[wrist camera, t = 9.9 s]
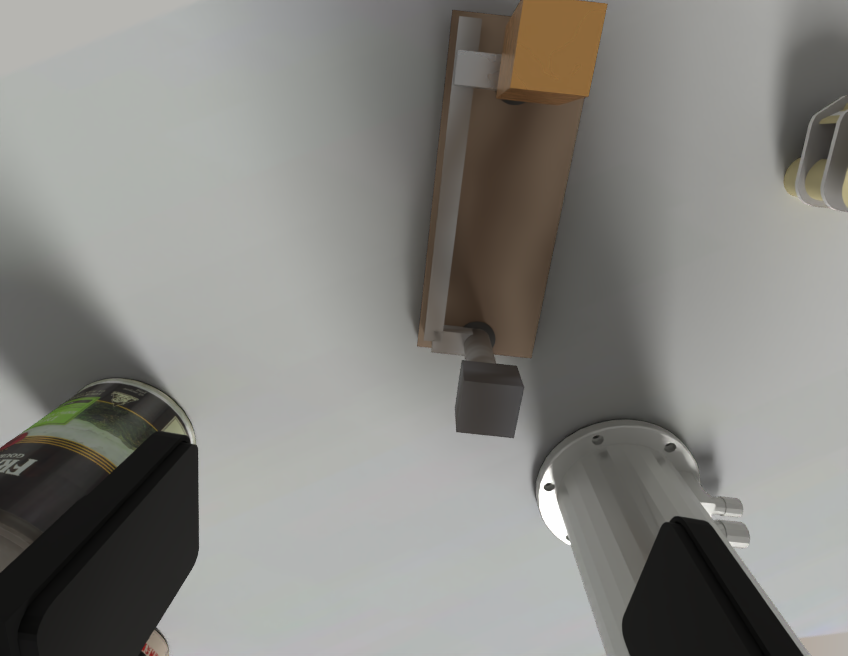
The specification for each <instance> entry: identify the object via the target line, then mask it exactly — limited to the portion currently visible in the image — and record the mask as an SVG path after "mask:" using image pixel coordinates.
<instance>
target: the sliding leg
mask: <svg viewBox="0 0 848 656" xmlns="http://www.w3.org/2000/svg"><path fill="white" fill-rule="evenodd" d="M606 9H607V4H605V3H596V2H588V1H579V0H521V1H520V3H519V4H518V6H517V8H516V9H515V11H514V13H513V15H512V16H511V18H510V20H509V22H508V23H507V25H506V29H505V37H504V44H503V51H502V54H493V53H484V52H475V51H466V50H458V52H457V61H456V70H455V79H454V86H459V87H468V88H477V89H486V90H495V91H497V93H496V99H503V100H512V101H521V102H530V103H539V104H549V105H562V104H565V103H568V102H572V101H575V100H578V99H582V98H585V97H588V96H589V92H590V87H591V82H592V77H593V72H594V67H595V62H596V58H597V53H598V48H599V43H600V38H601V33H602V28H603V24H604V19H605V14H606Z"/></svg>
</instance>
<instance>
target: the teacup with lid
mask: <svg viewBox="0 0 848 656" xmlns="http://www.w3.org/2000/svg"><path fill="white" fill-rule="evenodd" d="M138 656H169V650H168V646H167V644H166V642H165V640H164V639H163V638H162V636H161V635H160V634H159V633H158V632H157V631H156V630H154V631H153V633H152V634H151V636H150V637H149V639H148V641H147V642H146V644H145V646H144V647H143V649H142V650H141V652H140V654H139V655H138Z"/></svg>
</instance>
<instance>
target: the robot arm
mask: <svg viewBox="0 0 848 656" xmlns="http://www.w3.org/2000/svg"><path fill="white" fill-rule="evenodd" d="M536 499H537V504H538V507H539V511H540V514H541V517H542V519H543V520H544V522H545V524H546V525H547V527H548V528H549V529H550V530H551V531H552V532H553V534H554V535H555V536H556V537H558V538H559V539H561V540H562V541H563V542H565V543H567V544H569V545H571V548H572V551H573V554H574V557H575V560H576V563H577V566H578V569H579V572H580V575H581V578H582V582H583V585H584V588H585V591H586V594H587V597H588V600H589V603H590V606H591V609H592V612H593V615H594V619H595V622H596V625H597V628H598V631H599V634H600V637H601V640H602V643H603V646H604V649H605V652H606V655H607V656H811V654H810V653H809V652H808V651H807V649H806V648H805V647H804V645H803V644H802V643H801V641H800V640H799V638H798V637H797V636H796V634H795V633H794V631H793V630H792V629H791V627H790V626H789V625H788V623H787V622H786V620H785V619H784V618H783V616H782V615H781V613H780V612H779V611H778V609H777V608H776V607H775V605H774V604H773V602H772V601H771V600H770V598H769V597H768V595H767V594H766V593H765V591H764V590H763V589H762V587H761V586H760V584H759V583H758V582H757V580H756V579H755V577H754V576H753V575H752V573H751V572H750V570H749V569H748V568H747V566H746V565H745V564H744V562H743V561H742V559H741V558H740V557H739V555H738V554H737V552H736V551H735V550H734V548H741V549H744V548H747V546H748V545H749V542H750V535H749V531H748V529H747V527H746V525H745V524H743V523H742V522H735V521H726V520H713V519H712V518H711V516H712V514H719V515H720V516H730V517H741V515H742V514H743V505H742V503H741V501H740V500H739V499H737V498H730V497H712V496H710V495H709V494H708V493H706V492H705V490H704V489H703V488H702V486H701V485H700V473H699V470H698V466H697V463H696V461H695V459H694V457H693V456H692V454H691V452H690V451H689V450H688V449H687V447H686V446H685V445H684V444H683V443H682V441H681V440H680V439H678V438H677V437H676V436H675V435H673V434H672V433H671V432H670V431H668V430H666V429H664V428H662V427H660V426H658V425H655V424H651V423H648V422H644V421H637V420H628V419H626V420H610V421H606V422H601V423H597V424H593V425H591V426H588V427H586V428H583V429H580V430H579V431H577V432H575V433H574V434H572V435H570V436H568V437H567V438H565V439H564V440H563V441H562V442H561V443H559V444H558V445H557V446H556V447H555V448H554V449H553V450H552V451H551V453H550V454H549V455H548V456H547V458H546V459H545V461H544V463H543V465H542V466H541V468H540V470H539V474H538V477H537V481H536ZM198 551H199V505H198V447H197V445H195V444H191V441H190V438H189V436H187V435H182V434H176V433H170V432H164V431H156V432H154V433H153V434H152V435H151V436H150V437H149V438H147V439H146V440H145V441H144V442H143V443H142V444H141V445H140V446H139V447H138V448H137V449H136V450H135V451H134V452H133V453H132V454H130V455H129V456H128V457H127V458H126V459H125V460H124V461H123V462H122V463H121V464H120V465H119V466H118V467H117V468H116V469H115V470H113V471H112V472H111V473H110V474H109V475H108V476H107V477H106V478H105V479H104V480H103V481H102V482H101V483H100V484H99V485H98V486H96V487H95V488H94V489H93V490H92V491H91V492H90V493H89V494H88V495H85V496H84V497H82V498H81V499H79V500H78V501H77V502H76V503H75V504H74V505H73V506H71V507H70V508H69V509H68V510H67V511H66V512H65V513H64V514H63V515H62V516H61V517H60V518H59V519H58V520H56V521H55V522H54V523H53V524H52V525H51V526H50V527H49V528H48V529H47V530H46V531H45V532H44V533H42V534H41V535H40V536H39V537H38V538H37V539H36V540H35V541H34V542H33V543H32V544H31V545H30V546H29V547H27V548H26V549H25V550H24V551H23V552H22V553H21V554H20V555H19V556H18V557H17V558H16V559H15V560H14V561H12V562H11V563H10V564H9V565H8V566H7V567H6V568H5V569H4V570H3V571H2V572H1V573H0V656H138V655H139V654H140V652H141V650H142V649H143V647H144V646H145V644H146V642H147V641H148V639H149V637H150V636H151V634H152V633H153V631H154V629H155V628H156V626H157V625H158V623H159V621H160V620H161V618H162V617H163V615H164V613H165V612H166V610H167V608H168V607H169V605H170V604H171V602H172V600H173V599H174V597H175V596H176V594H177V592H178V591H179V589H180V588H181V586H182V584H183V583H184V581H185V579H186V578H187V576H188V575H189V573H190V571H191V570H192V568H193V566H194V564H195V562H196V559H197V556H198Z"/></svg>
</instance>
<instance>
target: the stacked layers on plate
mask: <svg viewBox="0 0 848 656" xmlns="http://www.w3.org/2000/svg"><path fill="white" fill-rule="evenodd" d="M784 187H785V189H786V191H787V192H788V193H789V194H790V195H792V196H795V197H798V198H799V199H800V200H801V201H802V202H803V203H805V204H807V205H809V206H814V207H824V208H831V209H834V210H837V211H844V212H848V95H846V96H842V97H840V98H839V99H837V100H836V101H834V102H833V103H831V104H830V105H828V106H827V107H825V108H824V109H822V110H821V111H819V112H818V113H816V114H815V115H813V116H812V118H811V120H810V122H809V126H808V130H807V134H806V138H805V143H804V147H803V151H802V155H801V158H798V159H797V160H795V161H794V162H793V163H792V164H791V165H790V166H789V168H788V169H787V171H786V173H785V176H784Z"/></svg>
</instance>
